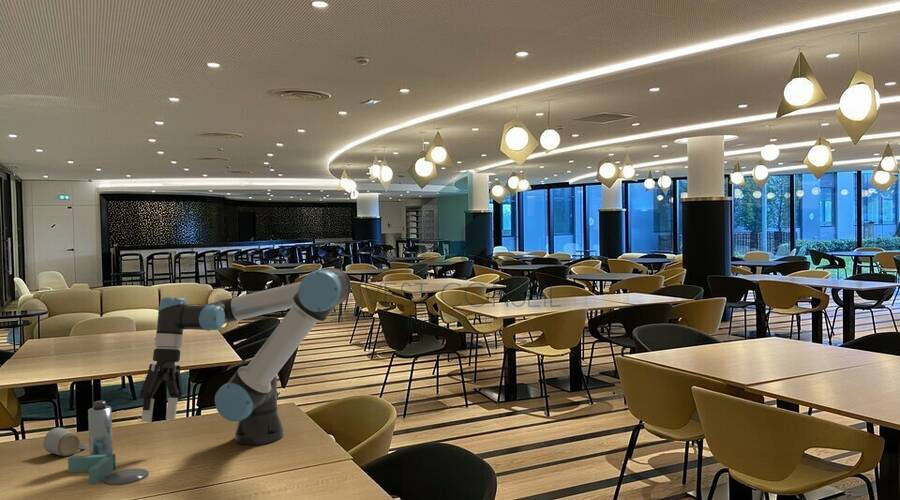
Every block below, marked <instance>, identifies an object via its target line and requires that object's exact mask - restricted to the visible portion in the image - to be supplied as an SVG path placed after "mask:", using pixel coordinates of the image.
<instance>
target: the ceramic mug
mask: <svg viewBox="0 0 900 500" xmlns="http://www.w3.org/2000/svg"><path fill="white" fill-rule="evenodd" d="M87 446H88V444H87V443H85V442H81V438H80V436H79V435H78V434H77V433H75V432H74V431H72V430H68V429H66V428H64V427H55V428H52V429H50V430H49V431H48V432H47V433H46V434H45V436H44V438H43V447H44V450H45V451H46V452H48V453H51V454H52V455H53V454H54V455H58V456H61V457H68V456H69V457H70V456H73V455H74V454H75V453H76V452H77V451H78V449H79V450H86V448H87Z"/></svg>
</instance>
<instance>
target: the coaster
mask: <svg viewBox="0 0 900 500" xmlns="http://www.w3.org/2000/svg"><path fill="white" fill-rule="evenodd" d="M148 476H149V470H148V469H145V468H136V467H135V468H127V469H122V470H121V469H120V470H117V471H114V472H110V473H109V474H108V475H107V476H106V477H105V478H103V482H104V483H105V484H106V485H111V486H116V485H118V486H119V485H120V486H121V485H128V484H131V483H136V482H140V481H141V480H143V479H146V478H147V477H148Z"/></svg>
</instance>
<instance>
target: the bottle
mask: <svg viewBox="0 0 900 500" xmlns="http://www.w3.org/2000/svg"><path fill="white" fill-rule="evenodd" d="M92 403H93V407H91V408H89V409H87V414H88V415H87V420H88V443H89V444H88V445H89V447H88V448H89V450H88V451H89V455H105V454H114V451H113V449H114V448H113V447H114V446H113V445H114V444H113V442H114V441H113V417H112V416H113V415H112V413H113V412H112V406H110V405H107V401H106V400H96V401H93V402H92Z"/></svg>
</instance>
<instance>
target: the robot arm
mask: <svg viewBox="0 0 900 500" xmlns="http://www.w3.org/2000/svg"><path fill="white" fill-rule="evenodd" d="M351 291H352V283H351V279H350V278H349V276H348V275H347V273H346V272H344V271H343V270H342V269H340V268H335V267H329V268H325V269H316V270H314V271H312V272H309V273H308V274H307V275H306V276H304V277H303V278H302V280H301V281H298V282H293V283H289V284H284V285H281V286H277V287H273V288H268V289H264V290H261V291H256V292H252V293H247V294H244V295H239V296H235V297H232V298H227V299H221V300H218V301H213V302H209V303H206V304H187V299H186V298H183V297H181V298H180V297H173V296H168V297H167V296H164V297H162V298H161V300H160V301H159V307H158V311H157V313H158V314H157V322H156V323H157V324H156V331H155V337H154V340H155V341H154V347H155V348H154V349H153V354H152V361H153V362H155V363H149V366H148V371H147V373H146V377H145V378H144V379H145V380H144V381H143V383H142V386H141V389H140V392H139V398H140V399H143V405H142V411H141V412H142V413H141V420H140V422H141V423H152V420H153V414H154V413H153V412H154V403H155V399H154V396H155V394H156V392H157V390H158V389H159V387H160V385H161V383H162V382H165V384H166V385H165V386H166V387H167V390H168V394H169V397H168V399H167V404H166V412H165V413H166V415H165V420H170V421H171V420H173V421H174V420H176V419H177V418H176V416H177V407H178V399H181V398H182V397H183V386H182V385H183V384H182V378H181V365H179V364H177V365H176V364H175V363H180V360H181V350H180V348H182V343H183V333H184V330H195V331H206V332H207V331H208V332H210V331H218V330H221V328H222V327H223V326H224V324H228V323H233V322H236V321H240V320H241V321H242V320H244V319H249V318H254V317H257V316H262V315H266V314H267V315H268V314H272V313H276V312H280V311H285V310H288V309H289V310H288V312H287V313H286V315H285V316H284V317H283V318H282V320H281V321H280V322H279V324H278V325H277V326H276V327H275V329H274V331H272V332H271V334H270V336H268V338H267V339H266V341H265V342H264V343H263V345H262V346H261V348H259V350H258V351H257V352H256V354H255V355H254V356H253V358H252V359H251V360H250V362H249V363H248V364H247V365H245V366H244V365H243V366H240V367H239V368H238V369H237V370H236V371H235V373H234V374H233V375H232V377H231V378H230V379H229V381H227V383H224V384H222V386H220V387H219V389H218V390H217V391H216V392H215V395H214V405H215V409H216V411H217V412H218V414H219V415H220V416H221V417H222V418H224V420H227V421H230V422H237V425H236V428H235V432H234V441H235V442H236V443H238V444H240V445H249V446H250V445H252V446H255V445H265V444H270V443H273V442H277V441H278V440H281V439H282V438H283V437H284V426H283V425H282V421H281V418H280V416H279V413H278V390H277V389H278V385H277V384H278V383H277V382H278V381H277V379H278V376H277V375H278V373H279V372H280V371H281V369H282V368H283V367H284V365H286V363H287V362H288V360H289V359H290V357H292V355H293V354H294V353H295V351H296V350H297V348H299V346H300V345H301V343H302V342H303V341H304V340H305V338H306V337H307V336H308V335H309V333H310V332H311V331H312V329H313V328H314V327H315V325H316V324H317V323H323V322H325V320H326V319H327V318H328V317H329V315H331V313H332V311H334V309H335V308H336V306H339V305H340V304H342V303H344V302H345V301H346V300H347V299H348V298H349V295H350V294H351Z"/></svg>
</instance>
